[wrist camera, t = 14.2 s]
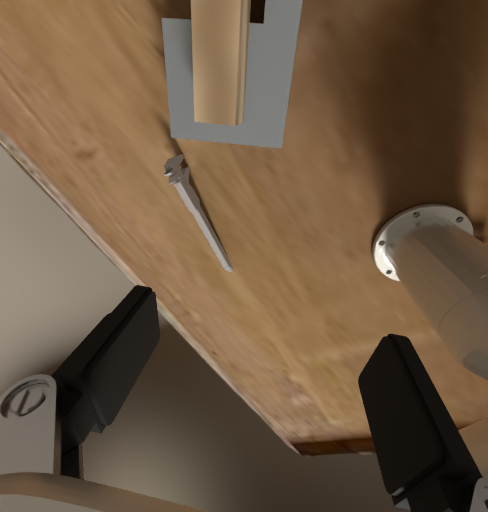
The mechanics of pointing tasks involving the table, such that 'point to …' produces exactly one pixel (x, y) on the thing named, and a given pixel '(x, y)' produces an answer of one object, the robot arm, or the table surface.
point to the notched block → (257, 79)
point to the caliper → (194, 205)
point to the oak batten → (220, 59)
